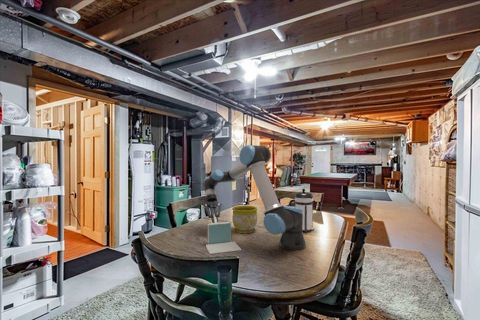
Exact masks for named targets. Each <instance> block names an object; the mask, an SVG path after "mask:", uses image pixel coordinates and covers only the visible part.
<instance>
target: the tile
mask: <svg viewBox="0 0 480 320" xmlns="http://www.w3.org/2000/svg"><path fill="white" fill-rule="evenodd" d="M225 242H232V222H231V221H224V222H217V223H213V222H211V223H207V244H216V243H225Z"/></svg>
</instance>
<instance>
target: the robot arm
mask: <svg viewBox="0 0 480 320" xmlns="http://www.w3.org/2000/svg"><path fill="white" fill-rule="evenodd" d="M239 152H240V153H239V156H238V158H239V161H240V163H239V164H238V165H236V166H234V167H233V168H231V169H230V170H228V171H222V170H221V169H215V170H213V172H212V173H211V174H210V176H209V177H208V176H207V177H206V178H204V179H203V188H204V194H205V202H206V203H205V204H203V207H202V208H203V209H204V210H205V212H206V215H207V216H208V218H209V219H211V223H219V218H220V216H221V207H222V206H223V205H222V203H219V201H218V199H217V192H216V186H217V185H218V184H219V183H230V182H235V181H236V180H237V178H239V177H241V176H243V175H244V174H246V173H248V172H250V173H251V174H252V178H253V180H254V183H255V186H256V188H257V190H258V194H259V196H260V198H261V202H262V203H263V207H264V209H265V210H264V212H263V214H264V216H263V227H264V228H265V229H266V231H267V232H268V233H270V234H271V235H281V236H280V240H279V246H280V247H281V248H283V249H286V250H289V251H290V250H292V251H299V250H303V249H305V248H306V245H307V244H306V240H305V237H304V233H303V231H304V230H303V211H302V209H301V208H299V207H295V206H292V205H291V206H289V205H283V204H281V203H280V202H279V201H280V200H279V198H278V196H277V194H276V192H275V189H274V186H273V184H272V182H271V179H270V176H269V174H268V171H267V170H266V167H265V165H266V164H267V163H268V162H269V161H270V160H271V157H272V154H271V150H270V149H269V148H268V147H267V146H265V145H253V144H249V145H248V144H247V145H244V146H243V147H242V148H241V149H240V151H239ZM217 207H218V209H217ZM217 210H218V211H217Z"/></svg>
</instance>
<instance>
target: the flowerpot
mask: <svg viewBox="0 0 480 320" xmlns="http://www.w3.org/2000/svg"><path fill="white" fill-rule="evenodd" d="M231 210H232V216H231V217H232V224H233V226H234V230H235V231H236V232H237V233H239V234H251V233H253V232H254V231H255V230H256V229H255V228H256V226H257V223H258V207H257V206H253V205H236V206H233V207H232V208H231Z"/></svg>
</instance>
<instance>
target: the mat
mask: <svg viewBox="0 0 480 320" xmlns="http://www.w3.org/2000/svg"><path fill="white" fill-rule="evenodd" d="M205 245H206V246H205V247H206V249H207V252H208V253H209V255H215V254H222V253H223V254H224V253H230V252H238V251H242V249H241V247H240V246H239V245H238V243H236V241H231V242H225V243H216V244H208V243H207V244H205Z"/></svg>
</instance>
